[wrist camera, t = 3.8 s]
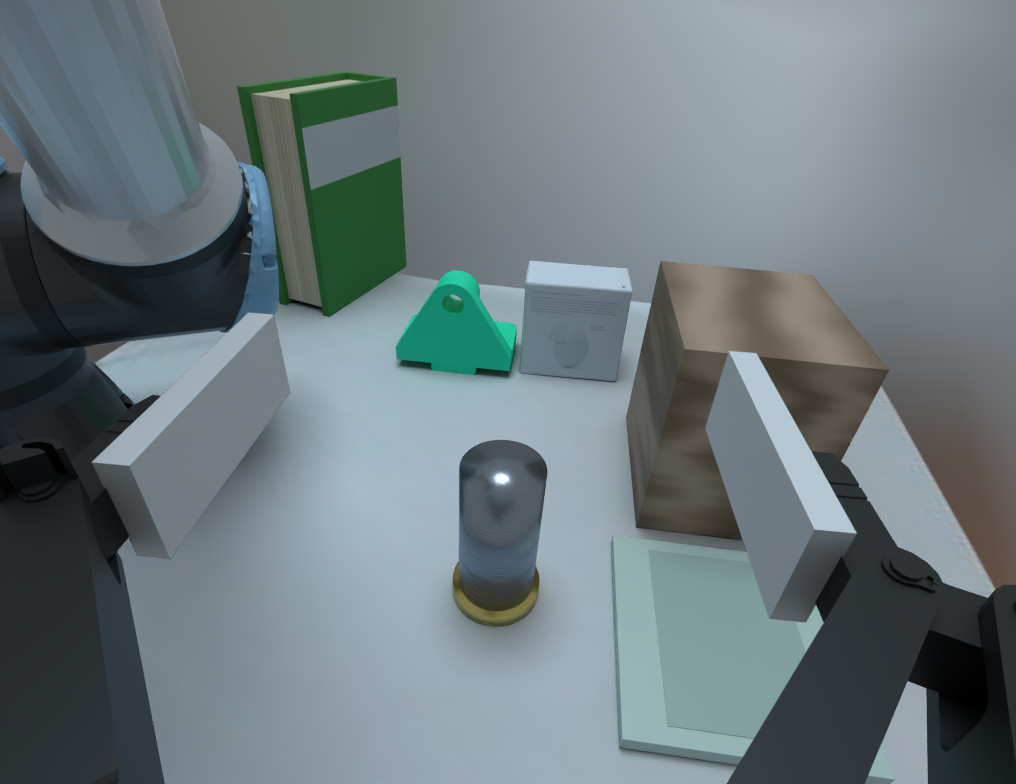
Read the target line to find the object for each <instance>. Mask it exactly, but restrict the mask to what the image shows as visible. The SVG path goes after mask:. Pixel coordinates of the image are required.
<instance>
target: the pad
mask: <svg viewBox="0 0 1016 784" xmlns="http://www.w3.org/2000/svg"><path fill="white" fill-rule="evenodd" d="M611 556H612V580H613V604H614V628H615V652H616V677H617V701H618V725H619V747H620V748H626V749H633V750H640V751H647V752H653V753H660V754H667V755H673V756H680V757H687V758H693V759H700V760H707V761H713V762H720V763H727V764H733V765H738V764H739V763H740V761H741V759H742V758H743V756H744V754H745V753H746V751H747V749H748V748H749V746H750V744H751V743H752V741H753V739H754V738H755V736H756V734H757V733H758V731H759V729H760V728H761V726H762V724H763V723H764V721H765V719H766V718H767V716H768V714H769V713H770V711H771V709H772V708H773V706H774V704H775V703H776V701H777V699H778V698H779V696H780V694H781V693H782V691H783V689H784V688H785V686H786V684H787V683H788V681H789V679H790V678H791V676H792V674H793V673H794V671H795V669H796V668H797V666H798V664H799V663H800V661H801V660H802V658H803V656H804V655H805V653H806V651H807V650H808V648H809V646H810V645H811V643H812V641H813V640H814V638H815V636H816V635H817V633H818V631H819V630H820V628H821V626H822V625H823V623H824V622H823V620H822V618H821V615H820V613H819V611H818V608H817V606H815V608H814V609H813V611H812V613H811V615H810V616H809V618H808V620H807V622H806V623H805V622H795V621H785V620H775V619H769V617H768V614H767V611H766V608H765V605H764V602H763V599H762V596H761V593H760V590H759V587H758V584H757V581H756V578H755V575H754V572H753V569H752V566H751V563H750V560H749V557H748V554H747V552H744V551H736V550H728V549H720V548H712V547H704V546H696V545H688V544H680V543H672V542H664V541H656V540H648V539H640V538H632V537H624V536H616V535H613V538H612V542H611ZM894 780H895V779H894V776H893V774H892V771H891V769H890V766H889V764H888V761H887V758H886V756H885V753H884V751H883V748H882V746H880V748H879V751H878V753H877V756H876V758H875V760H874V763H873V765H872V768H871V770H870V772H869V775H868V777H867V780H866V782H865V784H890V783H891V782H893V781H894Z"/></svg>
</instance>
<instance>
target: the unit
mask: <svg viewBox="0 0 1016 784" xmlns="http://www.w3.org/2000/svg"><path fill="white" fill-rule="evenodd" d="M729 351H735V352H748V353H757V355H758V357H759V359H760V361H761V362H762V364H763V366H764V368H765V370H766V371H767V373H768V375H769V377H770V379H771V380H772V382H773V384H774V386H775V387H776V389H777V391H778V393H779V395H780V396H781V398H782V400H783V402H784V404H785V405H786V407H787V409H788V411H789V413H790V414H791V416H792V418H793V420H794V422H795V423H796V425H797V427H798V429H799V431H800V432H801V434H802V436H803V438H804V439H805V441H806V443H807V445H808V447H809V448H810V450H811V451H815V452H826V453H832V454H833V455H834V456H835V457H836V458H837V459H839V460H840V461H841V460H842V458H843V456H844V454H845V452H846V451H847V449H848V447H849V445H850V443H851V441H852V439H853V437H854V435H855V434H856V432H857V430H858V428H859V426H860V424H861V422H862V420H863V418H864V417H865V415H866V413H867V411H868V409H869V407H870V405H871V403H872V401H873V400H874V398H875V396H876V394H877V392H878V390H879V388H880V386H881V384H882V383H883V380H884V378H885V377H886V375H887V373H888V371H889V369H888V368H887V367H886V366H885V365H884V363H883V362H882V361H881V359H880V358H879V357H878V356H877V354H876V353H875V352H874V351H873V349H872V348H871V347H870V346H869V344H868V343H867V342H866V341H865V339H864V338H863V337H862V336H861V335H860V333H859V332H858V331H857V330H856V328H855V327H854V326H853V325H852V323H851V322H850V321H849V320H848V318H847V317H846V316H845V315H844V313H843V312H842V311H841V310H840V308H839V307H838V306H837V305H836V304H835V302H834V301H833V300H832V298H831V297H830V296H829V295H828V293H827V292H826V291H825V290H824V289H823V288H822V286H821V285H820V284H819V282H818V281H817V280H816V279H815V278H814V276H813V275H804V274H794V273H783V272H772V271H761V270H750V269H740V268H729V267H719V266H709V265H697V264H687V263H676V262H666V261H661V262H660V266H659V271H658V275H657V280H656V284H655V289H654V294H653V298H652V303H651V307H650V312H649V316H648V321H647V325H646V330H645V334H644V339H643V343H642V348H641V353H640V357H639V362H638V366H637V371H636V375H635V380H634V384H633V389H632V393H631V398H630V402H629V407H628V411H627V416H626V419H627V430H628V441H629V453H630V464H631V475H632V486H633V497H634V508H635V519H636V527H641V528H649V529H657V530H665V531H673V532H681V533H689V534H697V535H705V536H713V537H721V538H729V539H737V540H743V539H742V536H741V533H740V530H739V527H738V524H737V521H736V519H735V516H734V513H733V510H732V507H731V504H730V501H729V498H728V495H727V492H726V489H725V486H724V483H723V480H722V477H721V474H720V471H719V468H718V465H717V462H716V459H715V456H714V453H713V450H712V447H711V444H710V441H709V438H708V435H707V432H706V429H705V427H706V424H707V421H708V417H709V414H710V411H711V408H712V404H713V401H714V398H715V395H716V391H717V388H718V385H719V381H720V378H721V375H722V372H723V368H724V365H725V362H726V359H727V355H728V352H729Z"/></svg>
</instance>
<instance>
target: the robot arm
mask: <svg viewBox="0 0 1016 784" xmlns="http://www.w3.org/2000/svg"><path fill="white" fill-rule="evenodd" d="M0 125H1V126H2V128H3V129H4V131H5V132H6V133H7V135H8V136H9V137H10V139H11V140H12V142H13V143H14V144H15V146H16V147H17V148H18V150H19V151H20V153H21V154H22V155H23V157H24V158H25V160H26V161H25V164H24V166H23V171H22V173H11V172H9V171H7V168H8V167H7V166H8V165H7V163H6V160H4V159H3V158H1V157H0V784H165V783H164V778H163V773H162V768H161V762H160V757H159V752H158V747H157V741H156V736H155V731H154V726H153V721H152V715H151V710H150V705H149V700H148V694H147V689H146V684H145V679H144V673H143V668H142V663H141V658H140V653H139V647H138V642H137V637H136V632H135V626H134V621H133V616H132V611H131V605H130V600H129V595H128V590H127V584H126V579H125V574H124V569H123V564H122V560H121V558H120V556H119V554H118V552H117V551H118V549H119V548H120V547H121V546H122V545H123V543H124V542H125V541H126V540H127V539H128V538H129V540H130V542H131V544H132V546H133V548H134V550H135V552H136V554H137V556H147V557H157V558H167V559H171V557H172V556H173V555H174V553H175V552H176V550H177V549H178V548H179V546H180V545H181V543H182V542H183V541H184V539H185V538H186V537H187V535H188V534H189V532H190V531H191V530H192V528H193V527H194V525H195V524H196V523H197V521H198V520H199V518H200V517H201V516H202V514H203V513H204V512H205V510H206V509H207V507H208V506H209V505H210V503H211V502H212V500H213V499H214V498H215V496H216V495H217V494H218V492H219V491H220V489H221V488H222V487H223V485H224V484H225V482H226V481H227V480H228V478H229V477H230V475H231V474H232V473H233V471H234V470H235V469H236V467H237V466H238V464H239V463H240V462H241V460H242V459H243V457H244V456H245V455H246V453H247V452H248V450H249V449H250V448H251V446H252V445H253V444H254V442H255V441H256V439H257V438H258V437H259V435H260V434H261V432H262V431H263V430H264V428H265V427H266V425H267V424H268V423H269V421H270V420H271V419H272V417H273V416H274V414H275V413H276V412H277V410H278V409H279V407H280V406H281V405H282V403H283V402H284V400H285V399H286V398H287V396H288V395H289V394H290V389H289V384H288V379H287V374H286V370H285V365H284V360H283V355H282V350H281V346H280V341H279V336H278V331H277V326H276V322H275V317H274V315H275V313H276V311H277V308H278V303H279V275H278V264H277V260H276V255H277V254H276V237H275V228H274V220H273V213H272V206H271V200H270V195H269V190H268V185H267V181H266V178H265V175H264V173H263V172H262V171H261V170H260V169H259V168H257V167H256V166H252V165H246V164H244V163H242V162H236V159H235V157H234V155H233V154H232V152H231V150H230V149H229V148H228V146H227V145H226V144H225V143H224V142H223V140H221V139H220V138H219V137H218V136H217V135H216V134H215V133H214V132H212V131H211V130H210V129H208V128H207V127H206V126H204V125H202V124H200V123H199V122H198V120H197V117H196V114H195V110H194V107H193V104H192V101H191V98H190V95H189V92H188V89H187V85H186V82H185V79H184V76H183V73H182V70H181V67H180V63H179V60H178V57H177V54H176V51H175V48H174V44H173V41H172V38H171V35H170V32H169V29H168V26H167V23H166V20H165V16H164V13H163V10H162V7H161V4H160V1H159V0H0ZM212 331H221V332H228V333H227V334H226V335H224V336H223V337H222V338H221V339H220V340H219V341H218V342H217V343H216V344H215V345H214V346H213V347H212V348H211V349H210V350H209V351H208V352H207V353H206V354H205V355H203V356H202V357H201V358H200V359H199V360H198V361H197V362H196V363H195V364H194V365H193V366H192V367H191V368H190V369H189V370H188V371H187V372H186V373H185V374H184V375H183V376H181V377H180V378H179V379H178V380H177V381H176V382H175V383H174V384H173V385H172V386H171V387H170V388H169V389H168V390H167V391H166V392H165V393H164V394H163V395H162V396H157V395H152V396H150V397H148V398H146V399H144V400H142V401H140V402H139V403H137V404H134V402H133V401H132V400H131V399H130V398H129V397H128V396H127V395H125V394H124V393H123V392H122V391H121V390H120V389H119V387H118V386H117V385H116V384H115V383H114V382H113V381H112V380H111V379H110V378H109V377H108V376H107V375H106V374H105V373H104V372H103V371H102V370H101V369H100V368H99V367H98V366H97V365H96V364H95V363H94V362H93V361H92V360H91V359H90V358H89V357H88V355H87V353H86V351H85V348H84V347H87V346H94V345H102V344H110V343H119V342H128V341H136V340H145V339H153V338H161V337H170V336H178V335H187V334H195V333H203V332H212ZM705 429H706V432H707V435H708V438H709V441H710V444H711V447H712V450H713V453H714V456H715V459H716V462H717V465H718V468H719V471H720V474H721V477H722V480H723V483H724V486H725V489H726V492H727V495H728V498H729V501H730V504H731V507H732V510H733V513H734V516H735V519H736V521H737V524H738V527H739V530H740V533H741V536H742V539H743V542H744V545H745V548H746V551H747V554H748V557H749V560H750V563H751V566H752V569H753V572H754V575H755V578H756V581H757V584H758V587H759V590H760V593H761V596H762V599H763V602H764V605H765V608H766V611H767V614H768V617H769V619H775V620H785V621H795V622H805V623H806V622H807V620H808V618H809V616H810V615H811V613H812V611H813V609H814V608H815V606H817V608H818V611H819V613H820V615H821V618H822V620H823V622H824V623H823V625H822V626H821V628H820V630H819V631H818V633H817V635H816V636H815V638H814V640H813V641H812V643H811V645H810V646H809V648H808V650H807V651H806V653H805V655H804V656H803V658H802V660H801V661H800V663H799V664H798V666H797V668H796V669H795V671H794V673H793V674H792V676H791V678H790V679H789V681H788V683H787V684H786V686H785V688H784V689H783V691H782V693H781V694H780V696H779V698H778V699H777V701H776V703H775V704H774V706H773V708H772V709H771V711H770V713H769V714H768V716H767V718H766V719H765V721H764V723H763V724H762V726H761V728H760V729H759V731H758V733H757V734H756V736H755V738H754V739H753V741H752V743H751V744H750V746H749V748H748V749H747V751H746V753H745V754H744V756H743V758H742V759H741V761H740V763H739V764H738V766H737V768H736V769H735V771H734V773H733V774H732V776H731V778H730V779H729V781H728V782H727V784H865V782H866V780H867V777H868V775H869V772H870V770H871V768H872V765H873V763H874V760H875V758H876V756H877V753H878V751H879V748H880V746H881V743H882V741H883V739H884V736H885V734H886V731H887V729H888V727H889V724H890V722H891V719H892V717H893V715H894V712H895V710H896V707H897V705H898V703H899V700H900V698H901V695H902V693H903V691H904V688H905V686H906V683H907V681H909V682H912V683H914V684H917V685H920V686H922V687H925V688H926V690H927V752H928V784H1016V585H1003V586H1001V587H999V588H997V589H996V590H995V591H994V592H993V593H992V594H991V595H990V597H989V598H986V597H983V596H980V595H977V594H974V593H971V592H968V591H965V590H962V589H959V588H956V587H953V586H950V585H947V584H945V583H943V582H942V580H941V579H940V577H939V575H938V573H937V572H936V571H935V570H934V569H933V568H932V567H931V566H930V565H929V564H928V563H927V562H926V561H924V560H922V559H921V558H919V557H918V556H916V555H915V554H913V553H911V552H909V551H906V550H904V549H901V548H899V547H897V545H896V544H895V542H894V540H893V539H892V537H891V536H890V534H889V532H888V531H887V529H886V527H885V526H884V524H883V523H882V521H881V519H880V518H879V516H878V515H877V513H876V511H875V510H874V508H873V506H872V505H871V503H870V502H869V501H867V497H866V495H865V494H864V492H863V490H862V489H861V488H859V484H858V482H857V481H856V479H855V477H854V476H853V474H852V473H851V471H850V469H849V468H848V467H847V466H846V465H845V464H843V463H842V462H841V461H840V460H839V459H837V458H836V457H835V456H834V455H833V454H832V453H826V452H815V451H811V450H810V448H809V447H808V445H807V443H806V441H805V439H804V438H803V436H802V434H801V432H800V431H799V429H798V427H797V425H796V423H795V422H794V420H793V418H792V416H791V414H790V413H789V411H788V409H787V407H786V405H785V404H784V402H783V400H782V398H781V396H780V395H779V393H778V391H777V389H776V387H775V386H774V384H773V382H772V380H771V379H770V377H769V375H768V373H767V371H766V370H765V368H764V366H763V364H762V362H761V361H760V359H759V357H758V355H757V353H748V352H735V351H729V352H728V355H727V359H726V362H725V365H724V368H723V372H722V375H721V378H720V381H719V385H718V388H717V391H716V395H715V398H714V401H713V404H712V408H711V411H710V414H709V417H708V421H707V424H706V427H705Z"/></svg>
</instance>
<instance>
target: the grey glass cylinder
mask: <svg viewBox="0 0 1016 784" xmlns="http://www.w3.org/2000/svg"><path fill="white" fill-rule="evenodd" d="M546 479H547V467H546V464H545V461H544V460H543V458H542V457H541V456H540V454H539V453H537V452H536V451H535V450H534V449H532V448H530V447H529V446H527V445H524V444H522V443H519V442H515V441H509V440H493V441H487V442H484V443H481V444H478V445H476V446H474V447H473V448H471V449H470V450H469V451H468V452H467V453H466V454H465V455H464V456H463V458H462V460H461V462H460V467H459V562H458V563H457V565H456V567H455V570H454V574H453V594H454V598H455V601H456V603H457V605H458V607H459V608H460V610H461V611H462V612H463V613H464V614H465V615H466V616H467V617H469V618H470V619H472V620H473V621H476V622H478V623H480V624H484V625H488V626H504V625H509V624H512V623H515V622H517V621H519V620H521V619H522V618H524V617H525V616H526V615H527V614H528V613H529V612H530V611H531V610H532V608H533V607H534V605H535V603H536V600H537V596H538V589H539V574H538V571H537V568H536V566H535V565H536V557H537V550H538V542H539V534H540V526H541V518H542V510H543V502H544V495H545V487H546Z"/></svg>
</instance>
